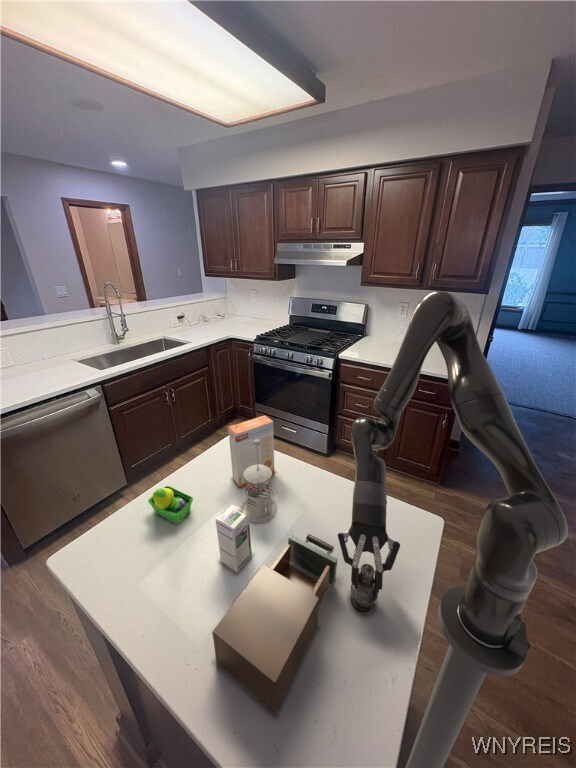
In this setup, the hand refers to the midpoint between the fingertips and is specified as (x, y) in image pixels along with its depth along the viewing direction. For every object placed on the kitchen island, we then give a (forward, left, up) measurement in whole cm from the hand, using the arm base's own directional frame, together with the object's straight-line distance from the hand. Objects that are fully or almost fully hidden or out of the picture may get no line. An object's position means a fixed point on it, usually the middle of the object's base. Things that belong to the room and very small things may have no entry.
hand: (366, 589), depth 66 cm
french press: (+36, -11, -7) cm, 38 cm away
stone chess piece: (+1, -2, -7) cm, 7 cm away
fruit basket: (+58, +4, -7) cm, 58 cm away
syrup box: (+32, +5, -7) cm, 33 cm away
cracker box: (+48, -23, -7) cm, 53 cm away
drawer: (+14, +3, -6) cm, 15 cm away
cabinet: (+14, +16, -7) cm, 22 cm away
